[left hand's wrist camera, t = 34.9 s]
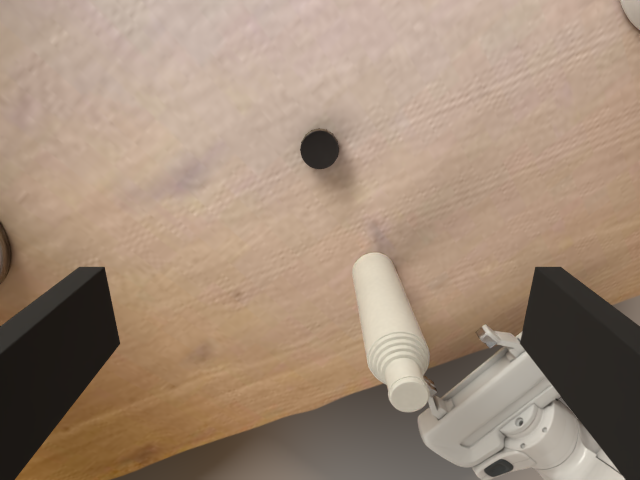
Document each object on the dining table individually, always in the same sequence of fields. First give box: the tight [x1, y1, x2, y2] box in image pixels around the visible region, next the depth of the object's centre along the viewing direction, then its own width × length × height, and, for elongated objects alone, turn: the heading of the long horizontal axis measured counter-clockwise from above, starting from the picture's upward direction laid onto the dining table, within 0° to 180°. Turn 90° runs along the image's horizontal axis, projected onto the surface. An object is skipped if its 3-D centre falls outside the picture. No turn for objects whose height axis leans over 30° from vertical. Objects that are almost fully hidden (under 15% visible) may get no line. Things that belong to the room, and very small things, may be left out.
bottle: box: [352, 252, 430, 412], centre depth 41 cm, size 5×5×22 cm
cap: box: [300, 128, 339, 169], centre depth 44 cm, size 4×4×2 cm
